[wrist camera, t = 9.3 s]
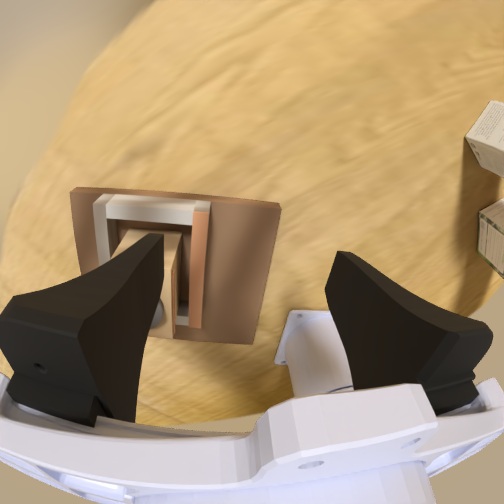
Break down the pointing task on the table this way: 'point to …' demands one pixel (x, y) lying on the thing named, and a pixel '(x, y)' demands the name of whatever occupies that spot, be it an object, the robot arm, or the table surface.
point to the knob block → (172, 279)
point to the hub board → (190, 251)
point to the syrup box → (492, 236)
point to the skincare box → (489, 138)
